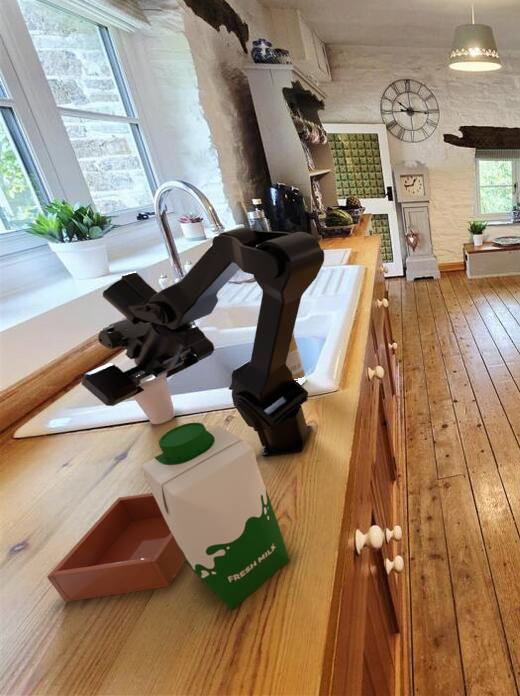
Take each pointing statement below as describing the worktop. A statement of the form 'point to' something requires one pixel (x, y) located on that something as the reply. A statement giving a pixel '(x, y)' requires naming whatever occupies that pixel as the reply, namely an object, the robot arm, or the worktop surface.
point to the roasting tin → (120, 553)
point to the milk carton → (217, 509)
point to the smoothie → (155, 399)
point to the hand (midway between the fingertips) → (144, 386)
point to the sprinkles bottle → (294, 360)
